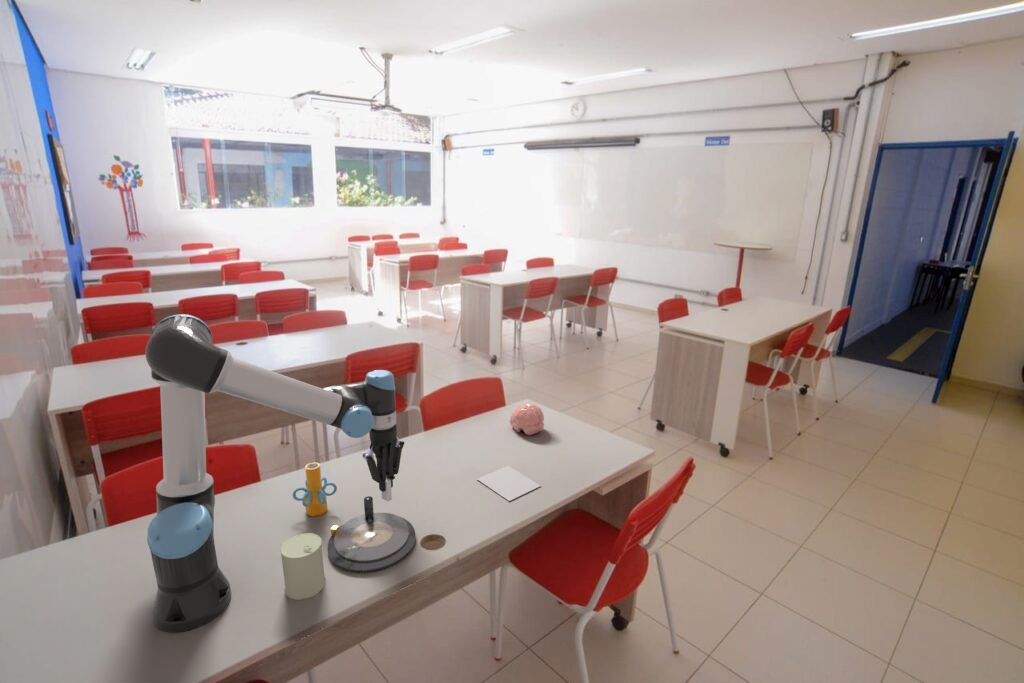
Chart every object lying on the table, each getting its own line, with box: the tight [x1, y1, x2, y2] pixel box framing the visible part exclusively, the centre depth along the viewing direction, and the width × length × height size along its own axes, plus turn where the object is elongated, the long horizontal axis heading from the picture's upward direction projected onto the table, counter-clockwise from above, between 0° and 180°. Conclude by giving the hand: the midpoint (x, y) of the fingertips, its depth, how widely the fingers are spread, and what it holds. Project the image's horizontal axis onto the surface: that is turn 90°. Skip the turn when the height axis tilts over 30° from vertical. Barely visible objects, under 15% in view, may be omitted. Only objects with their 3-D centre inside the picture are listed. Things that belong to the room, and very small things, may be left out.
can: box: [279, 532, 327, 601], centre depth 123 cm, size 9×9×12 cm
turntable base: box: [327, 516, 416, 574], centre depth 139 cm, size 23×23×4 cm
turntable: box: [334, 496, 409, 563], centre depth 138 cm, size 20×20×7 cm
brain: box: [509, 403, 545, 436], centre depth 209 cm, size 16×13×12 cm
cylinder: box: [292, 462, 338, 517], centre depth 152 cm, size 12×10×15 cm
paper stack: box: [476, 465, 542, 502], centre depth 171 cm, size 23×25×1 cm
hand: (386, 498), depth 150 cm, fingers closed
